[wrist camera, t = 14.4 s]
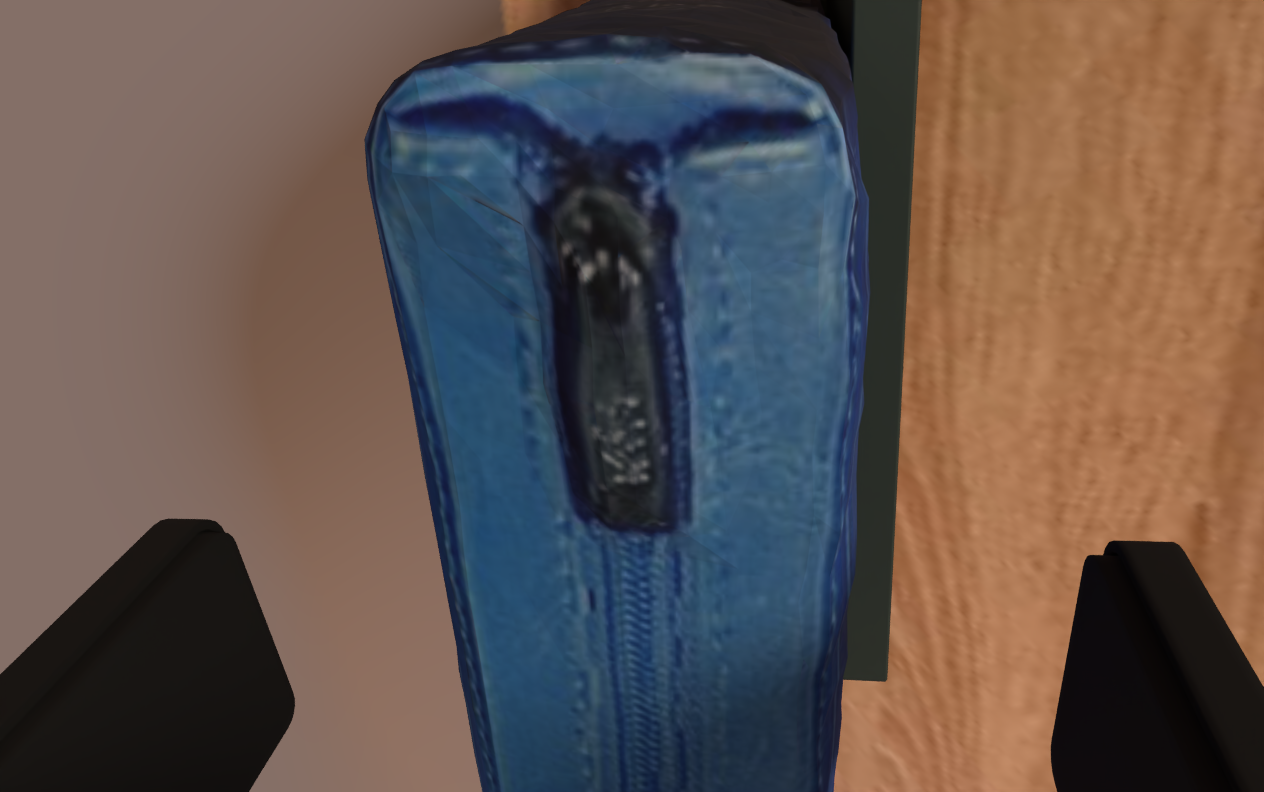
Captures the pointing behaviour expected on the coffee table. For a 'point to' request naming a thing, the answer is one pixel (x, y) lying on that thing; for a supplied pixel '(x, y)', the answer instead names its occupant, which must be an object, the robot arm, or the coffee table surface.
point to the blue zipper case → (637, 385)
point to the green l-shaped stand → (880, 296)
